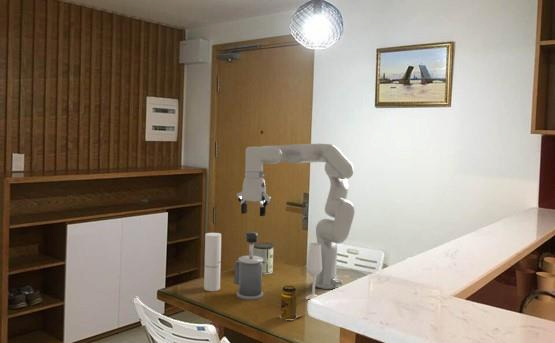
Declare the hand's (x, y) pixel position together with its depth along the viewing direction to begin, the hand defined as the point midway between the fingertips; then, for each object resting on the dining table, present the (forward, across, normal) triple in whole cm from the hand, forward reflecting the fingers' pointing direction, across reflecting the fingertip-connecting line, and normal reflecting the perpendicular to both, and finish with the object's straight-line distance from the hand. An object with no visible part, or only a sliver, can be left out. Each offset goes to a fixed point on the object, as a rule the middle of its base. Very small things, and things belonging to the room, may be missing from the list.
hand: (253, 214), depth 214 cm
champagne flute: (+36, -24, -13) cm, 45 cm away
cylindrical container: (+36, +19, +4) cm, 41 cm away
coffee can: (+36, +16, -33) cm, 52 cm away
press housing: (+36, +1, +1) cm, 36 cm away
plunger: (+19, 0, 0) cm, 19 cm away
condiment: (+36, -27, +12) cm, 46 cm away
